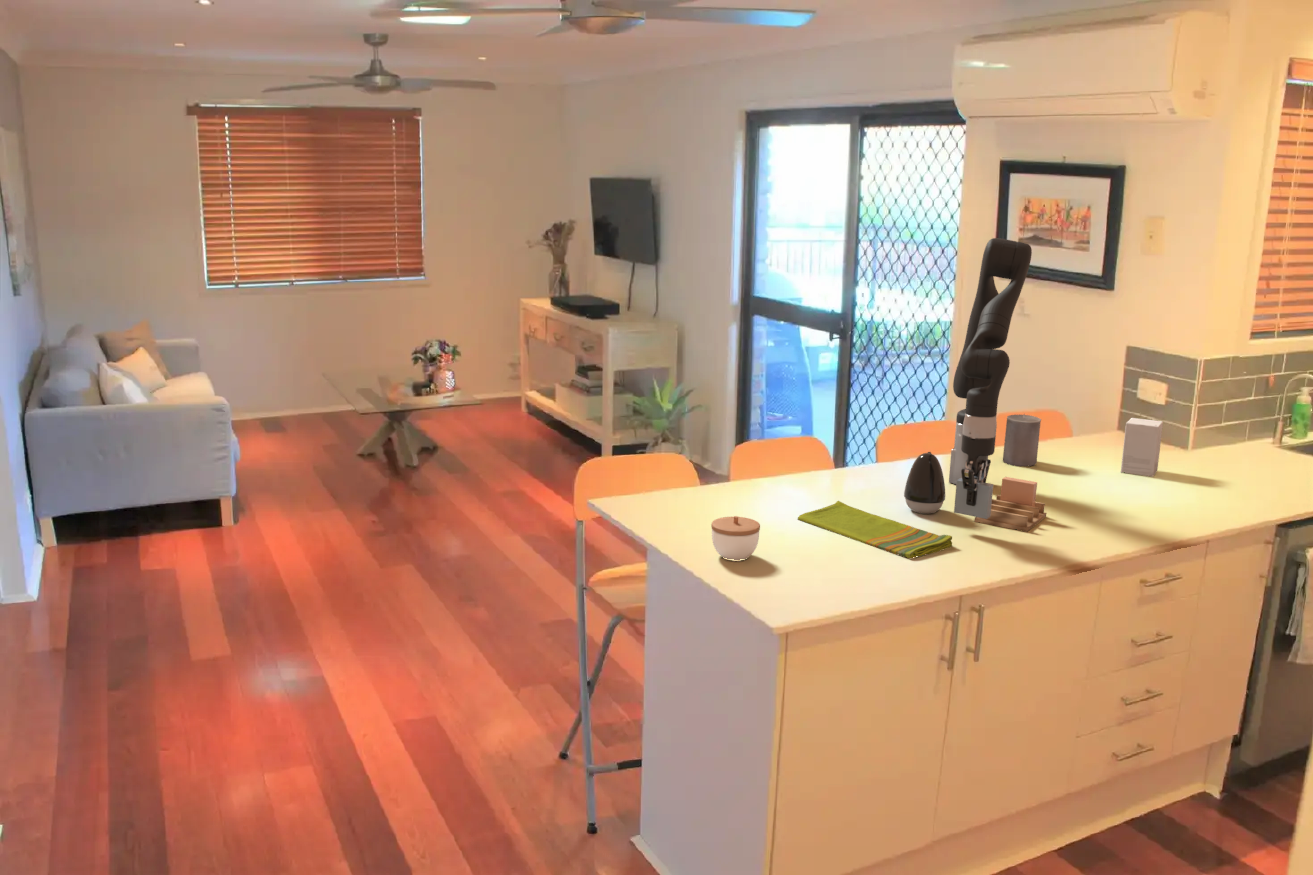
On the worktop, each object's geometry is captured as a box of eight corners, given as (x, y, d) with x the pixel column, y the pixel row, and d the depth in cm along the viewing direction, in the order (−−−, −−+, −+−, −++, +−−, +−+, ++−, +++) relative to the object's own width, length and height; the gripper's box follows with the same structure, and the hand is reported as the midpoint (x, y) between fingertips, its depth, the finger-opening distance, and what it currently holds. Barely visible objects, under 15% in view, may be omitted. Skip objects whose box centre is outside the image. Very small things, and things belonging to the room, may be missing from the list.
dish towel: (911, 562, 243) (912, 548, 242) (796, 521, 270) (796, 509, 269) (954, 548, 252) (955, 535, 251) (838, 510, 279) (839, 498, 278)
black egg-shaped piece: (945, 507, 281) (950, 450, 278) (942, 518, 272) (947, 459, 268) (905, 503, 285) (909, 446, 281) (900, 514, 275) (904, 455, 272)
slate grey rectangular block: (953, 512, 262) (956, 480, 260) (957, 510, 264) (960, 478, 262) (986, 518, 257) (989, 486, 255) (990, 516, 259) (993, 484, 257)
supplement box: (1158, 470, 320) (1164, 420, 316) (1153, 477, 313) (1159, 426, 309) (1125, 465, 325) (1131, 416, 321) (1119, 472, 317) (1125, 422, 314)
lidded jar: (707, 549, 248) (708, 509, 245) (754, 548, 249) (755, 509, 246) (714, 565, 237) (715, 524, 235) (762, 564, 238) (764, 523, 236)
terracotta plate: (999, 509, 277) (1002, 478, 275) (1002, 506, 279) (1005, 476, 277) (1031, 515, 273) (1034, 484, 271) (1034, 512, 275) (1037, 482, 273)
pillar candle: (1000, 457, 332) (1004, 409, 328) (1033, 459, 331) (1038, 410, 327) (1005, 466, 323) (1010, 416, 319) (1039, 467, 321) (1044, 418, 318)
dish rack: (974, 521, 270) (975, 507, 269) (995, 507, 282) (996, 494, 281) (1027, 531, 263) (1028, 518, 262) (1046, 516, 275) (1047, 503, 274)
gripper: (974, 425, 263) (968, 494, 267) (952, 436, 252) (946, 507, 256) (1004, 430, 259) (998, 500, 263) (984, 441, 248) (978, 513, 252)
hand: (973, 503), depth 260 cm, fingers closed on slate grey rectangular block, 2 cm apart
